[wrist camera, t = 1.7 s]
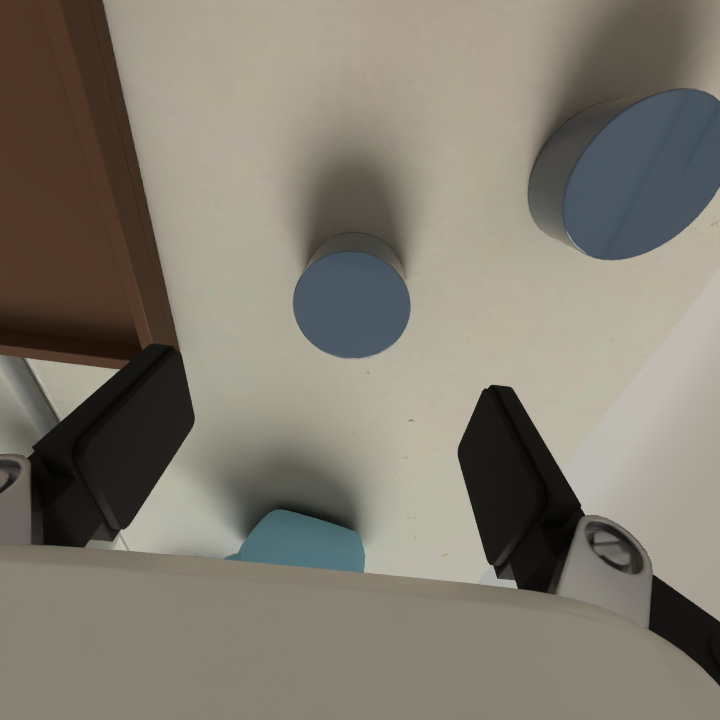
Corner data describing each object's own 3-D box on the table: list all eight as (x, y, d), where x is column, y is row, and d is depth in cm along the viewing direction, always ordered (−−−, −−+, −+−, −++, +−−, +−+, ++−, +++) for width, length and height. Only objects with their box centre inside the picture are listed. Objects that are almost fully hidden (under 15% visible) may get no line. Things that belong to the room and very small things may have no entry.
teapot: (216, 472, 28) (136, 639, 19) (394, 529, 32) (402, 690, 23) (191, 536, 35) (121, 685, 25) (342, 577, 39) (332, 719, 29)
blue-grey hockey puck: (601, 67, 13) (668, 45, 10) (689, 149, 14) (770, 150, 11) (502, 202, 16) (531, 215, 13) (583, 260, 17) (626, 284, 14)
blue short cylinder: (333, 210, 16) (323, 225, 13) (425, 266, 18) (434, 290, 15) (290, 301, 19) (275, 329, 16) (372, 342, 20) (372, 375, 17)
